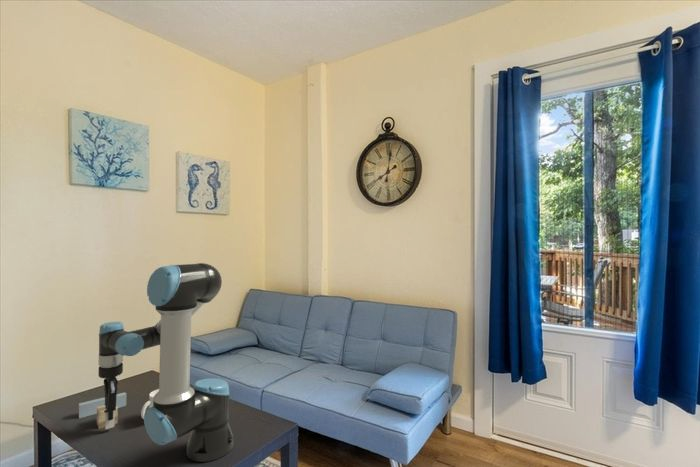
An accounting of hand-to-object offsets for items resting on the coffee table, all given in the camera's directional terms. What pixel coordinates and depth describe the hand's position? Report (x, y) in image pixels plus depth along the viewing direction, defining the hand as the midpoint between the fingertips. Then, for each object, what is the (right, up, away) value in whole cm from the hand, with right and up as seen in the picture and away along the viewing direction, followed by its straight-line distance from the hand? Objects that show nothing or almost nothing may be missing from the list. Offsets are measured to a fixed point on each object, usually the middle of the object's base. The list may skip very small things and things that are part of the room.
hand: (109, 427), depth 131 cm
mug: (+13, -2, +8) cm, 15 cm away
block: (-5, -2, +6) cm, 8 cm away
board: (-13, -1, +15) cm, 20 cm away
